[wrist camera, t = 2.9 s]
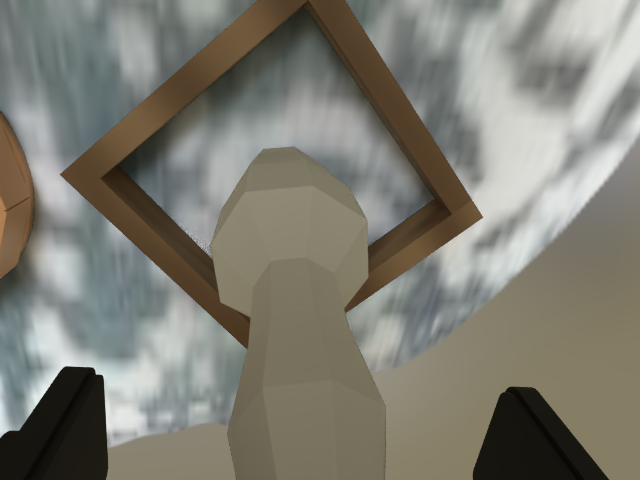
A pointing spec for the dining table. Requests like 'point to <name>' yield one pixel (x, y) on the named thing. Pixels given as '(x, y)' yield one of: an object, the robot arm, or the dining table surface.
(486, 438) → the robot arm
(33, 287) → the dining table surface
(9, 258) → the terracotta dish
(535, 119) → the dining table surface
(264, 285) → the faceted bottle
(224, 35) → the square wooden frame
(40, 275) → the dining table surface
